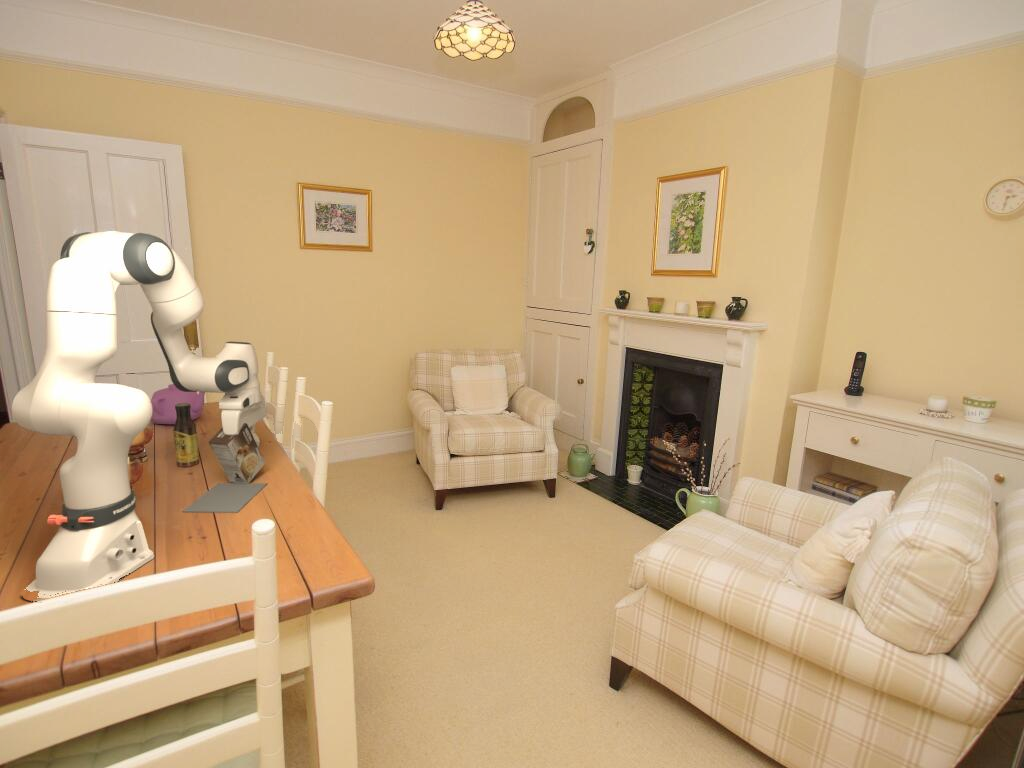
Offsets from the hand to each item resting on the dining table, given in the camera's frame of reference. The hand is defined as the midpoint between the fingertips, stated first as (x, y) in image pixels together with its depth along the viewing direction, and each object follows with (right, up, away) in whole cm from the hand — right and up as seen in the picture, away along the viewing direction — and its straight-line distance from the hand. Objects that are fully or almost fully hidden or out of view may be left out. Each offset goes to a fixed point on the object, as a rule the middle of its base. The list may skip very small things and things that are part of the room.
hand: (248, 440), depth 156 cm
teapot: (-56, +2, +55) cm, 79 cm away
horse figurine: (-18, -4, +34) cm, 39 cm away
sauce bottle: (-24, -9, +11) cm, 28 cm away
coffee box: (0, -10, 0) cm, 10 cm away
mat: (0, -14, -12) cm, 19 cm away
